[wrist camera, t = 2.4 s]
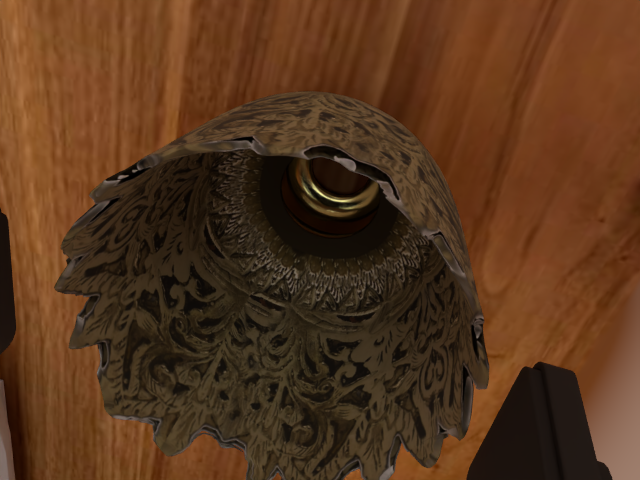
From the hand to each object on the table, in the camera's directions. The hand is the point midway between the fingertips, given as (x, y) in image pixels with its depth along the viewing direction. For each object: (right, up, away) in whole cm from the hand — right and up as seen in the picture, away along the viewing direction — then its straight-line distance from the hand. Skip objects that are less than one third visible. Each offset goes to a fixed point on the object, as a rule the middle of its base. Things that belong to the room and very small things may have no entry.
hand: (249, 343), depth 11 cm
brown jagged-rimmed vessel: (+2, +4, +6) cm, 8 cm away
